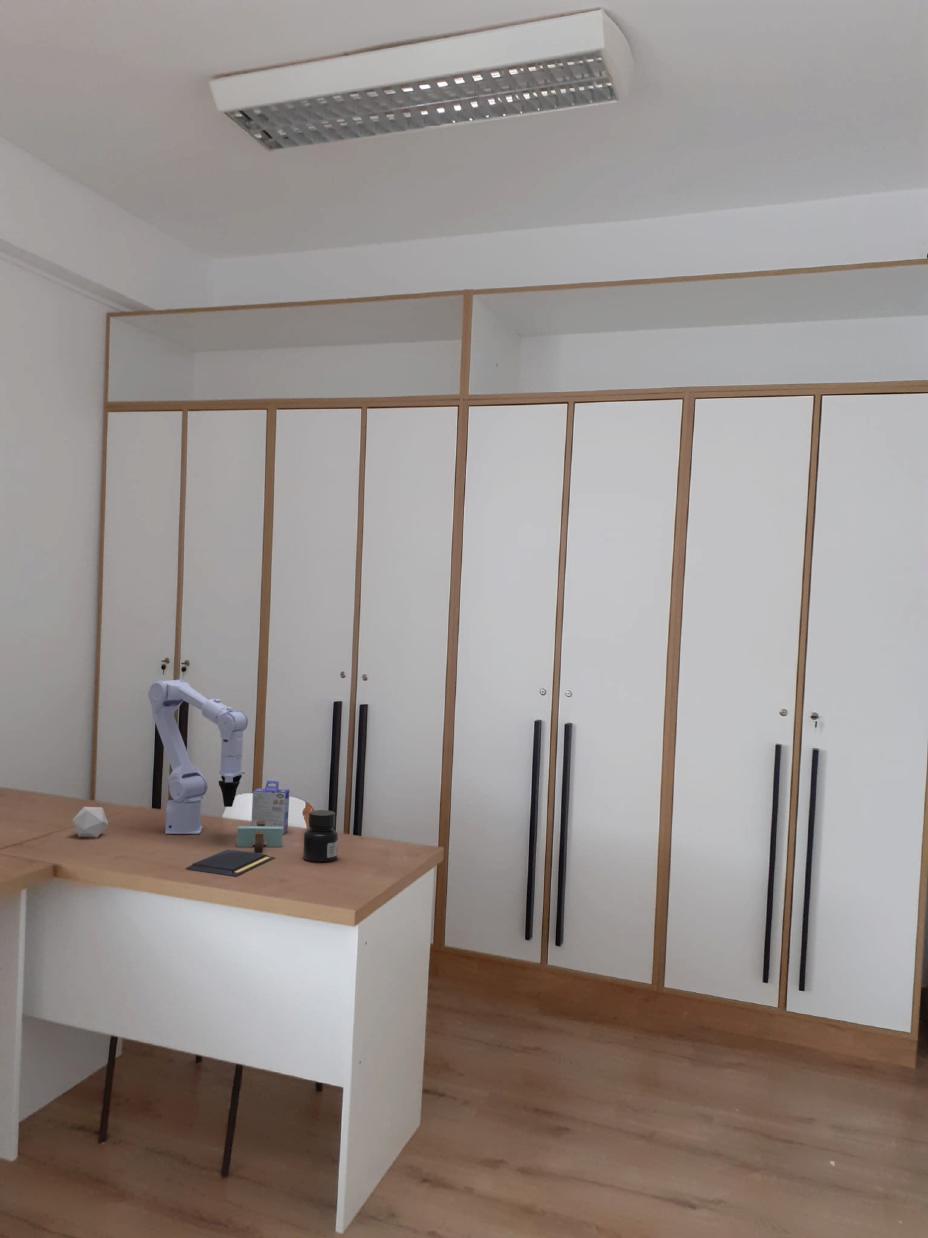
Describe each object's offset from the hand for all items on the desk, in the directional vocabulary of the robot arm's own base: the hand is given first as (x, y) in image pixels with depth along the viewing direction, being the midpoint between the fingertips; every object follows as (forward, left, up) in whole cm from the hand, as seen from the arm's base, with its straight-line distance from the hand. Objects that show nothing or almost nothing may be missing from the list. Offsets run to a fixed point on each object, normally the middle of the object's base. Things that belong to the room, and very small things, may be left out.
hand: (229, 803), depth 262 cm
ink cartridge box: (+11, +9, -10) cm, 18 cm away
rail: (+9, -7, -10) cm, 15 cm away
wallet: (+3, -25, -11) cm, 27 cm away
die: (-37, +3, -10) cm, 38 cm away
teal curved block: (+9, -7, -10) cm, 15 cm away
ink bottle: (+25, -20, -10) cm, 34 cm away
